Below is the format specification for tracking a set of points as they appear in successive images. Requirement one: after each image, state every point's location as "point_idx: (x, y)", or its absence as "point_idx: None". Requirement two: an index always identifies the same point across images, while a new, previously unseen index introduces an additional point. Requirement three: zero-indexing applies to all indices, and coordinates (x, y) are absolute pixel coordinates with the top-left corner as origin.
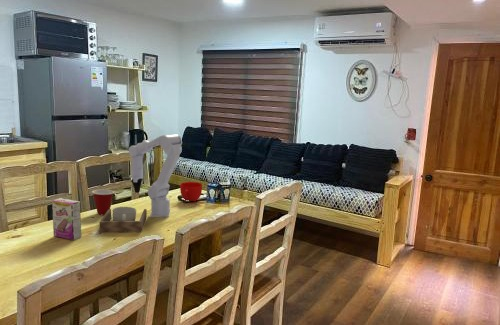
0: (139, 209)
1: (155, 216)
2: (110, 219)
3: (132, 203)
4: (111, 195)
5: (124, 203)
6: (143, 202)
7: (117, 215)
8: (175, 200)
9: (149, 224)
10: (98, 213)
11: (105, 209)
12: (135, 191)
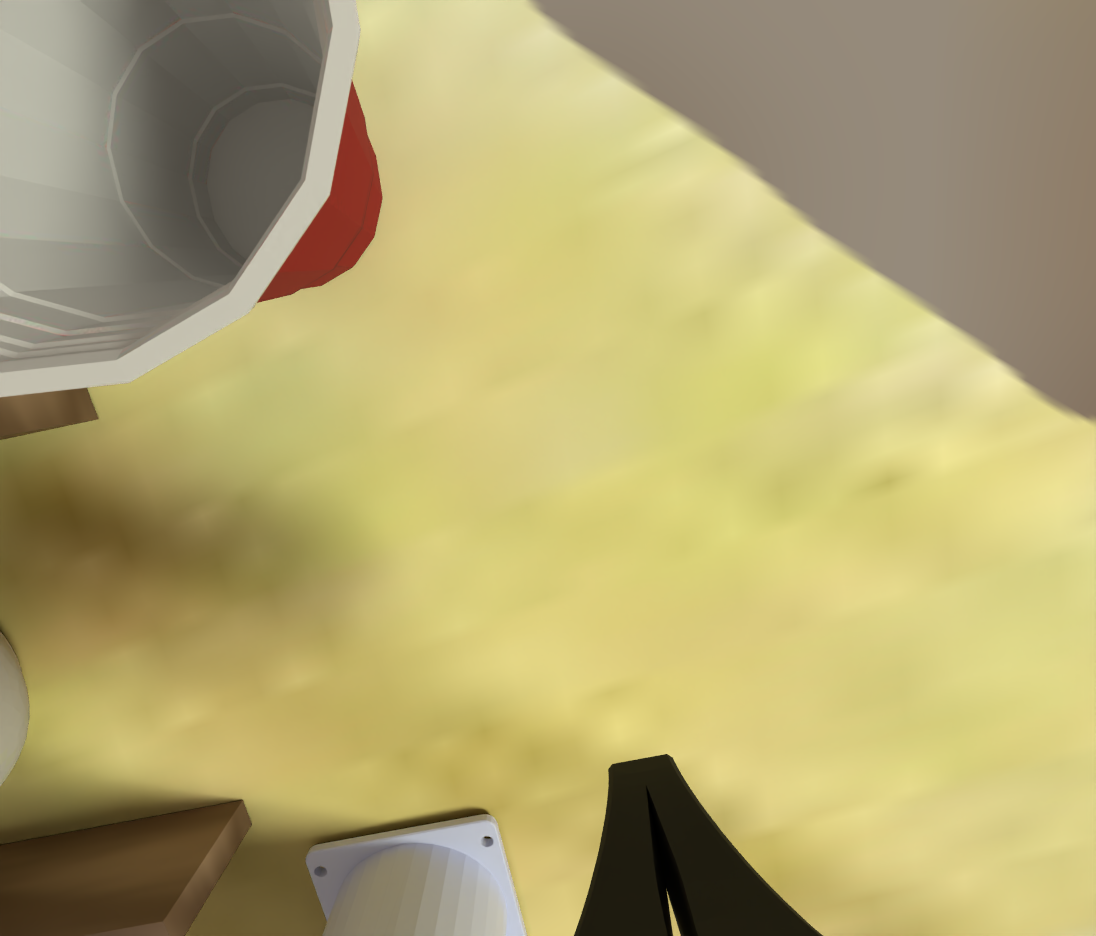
0: (592, 631)
1: (323, 904)
2: (33, 432)
3: (878, 436)
4: (26, 345)
5: (869, 311)
6: (942, 575)
7: None
8: (1056, 929)
9: None
10: (202, 131)
11: (164, 251)
12: (611, 793)
